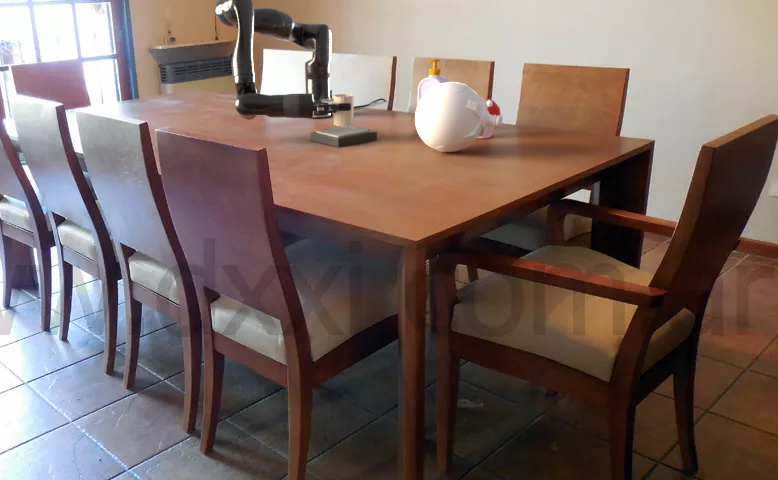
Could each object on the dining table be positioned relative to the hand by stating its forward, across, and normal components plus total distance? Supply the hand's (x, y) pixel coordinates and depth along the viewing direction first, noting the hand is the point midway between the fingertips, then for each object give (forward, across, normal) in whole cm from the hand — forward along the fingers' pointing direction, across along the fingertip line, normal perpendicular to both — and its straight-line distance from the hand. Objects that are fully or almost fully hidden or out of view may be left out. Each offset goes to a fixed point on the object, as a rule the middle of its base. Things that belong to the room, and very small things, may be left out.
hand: (350, 105), depth 215 cm
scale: (-2, 0, +11) cm, 11 cm away
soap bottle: (+27, +13, +11) cm, 32 cm away
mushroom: (+42, +2, +11) cm, 43 cm away
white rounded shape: (+31, -20, +11) cm, 39 cm away
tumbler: (-2, 0, +6) cm, 6 cm away
